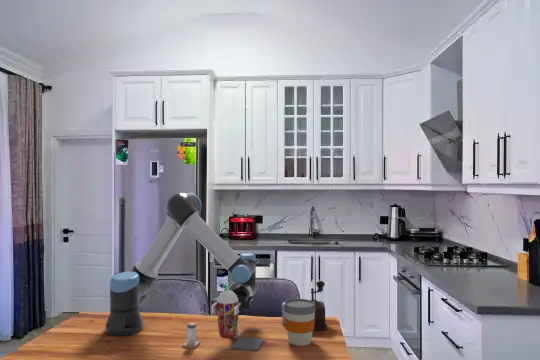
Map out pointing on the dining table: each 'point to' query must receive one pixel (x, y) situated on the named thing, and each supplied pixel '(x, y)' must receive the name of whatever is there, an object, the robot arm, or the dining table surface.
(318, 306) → the pepper mill
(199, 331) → the dining table surface
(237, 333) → the post far
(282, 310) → the medicine box
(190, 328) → the post near
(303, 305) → the reusable coffee cup
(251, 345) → the mat
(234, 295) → the smoothie
